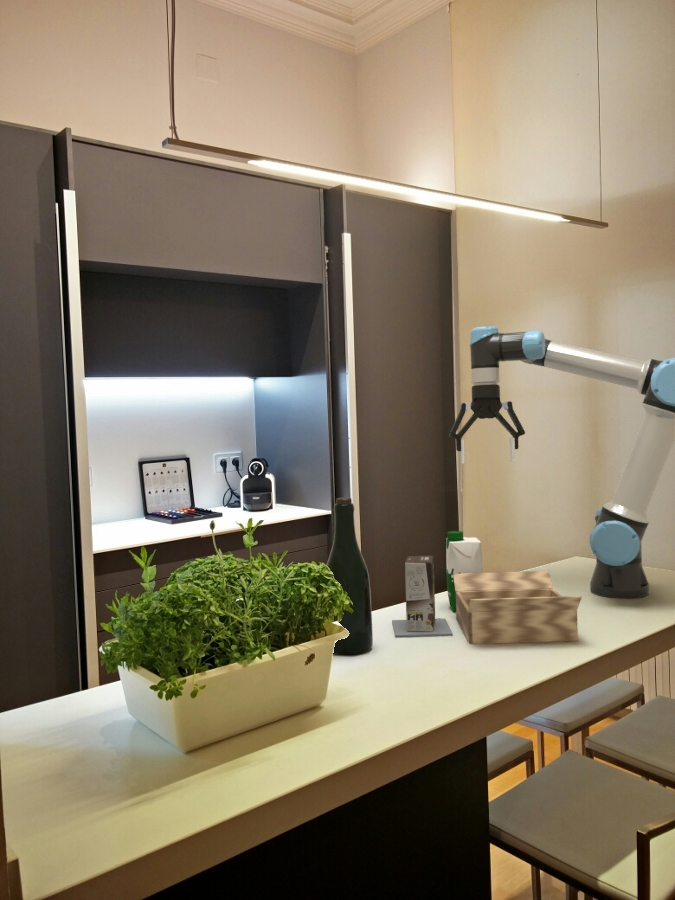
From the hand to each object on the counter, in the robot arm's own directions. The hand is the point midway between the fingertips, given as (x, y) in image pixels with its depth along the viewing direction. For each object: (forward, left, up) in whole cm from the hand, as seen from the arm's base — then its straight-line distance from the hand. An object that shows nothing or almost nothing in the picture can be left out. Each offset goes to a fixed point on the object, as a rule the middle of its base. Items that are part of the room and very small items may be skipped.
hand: (487, 462), depth 205 cm
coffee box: (+22, +30, -36) cm, 52 cm away
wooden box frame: (+1, +33, -37) cm, 49 cm away
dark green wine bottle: (+39, +44, -37) cm, 69 cm away
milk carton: (+9, +13, -37) cm, 40 cm away
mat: (+22, +30, -37) cm, 52 cm away
